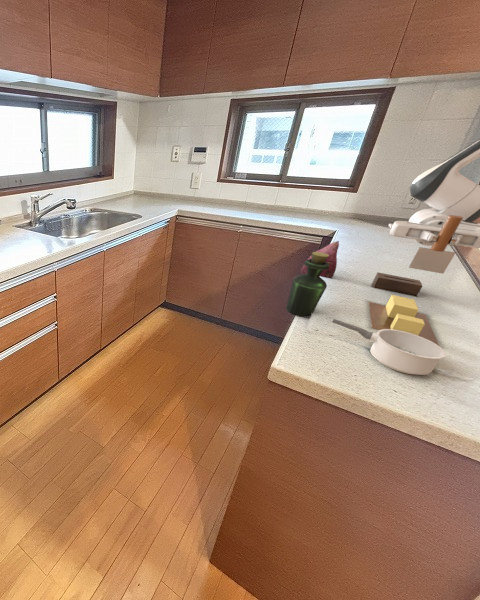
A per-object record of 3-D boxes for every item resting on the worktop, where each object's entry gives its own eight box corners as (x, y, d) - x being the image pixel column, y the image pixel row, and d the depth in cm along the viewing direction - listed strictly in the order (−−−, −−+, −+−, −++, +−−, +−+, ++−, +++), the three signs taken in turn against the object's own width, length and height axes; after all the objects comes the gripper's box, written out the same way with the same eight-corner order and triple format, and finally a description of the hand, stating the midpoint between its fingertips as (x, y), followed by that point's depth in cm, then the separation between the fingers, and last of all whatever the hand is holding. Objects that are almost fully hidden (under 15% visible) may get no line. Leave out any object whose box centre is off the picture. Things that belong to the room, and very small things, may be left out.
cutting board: (423, 319, 94) (425, 314, 93) (436, 351, 79) (439, 346, 79) (366, 305, 101) (368, 301, 100) (369, 332, 86) (371, 328, 86)
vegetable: (324, 280, 127) (349, 244, 121) (331, 286, 118) (359, 248, 112) (297, 268, 130) (320, 233, 123) (301, 274, 121) (326, 236, 114)
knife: (442, 271, 89) (474, 217, 81) (444, 275, 87) (477, 219, 79) (408, 266, 92) (436, 213, 85) (409, 268, 90) (438, 215, 83)
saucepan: (328, 329, 87) (336, 311, 85) (431, 362, 75) (444, 342, 73) (320, 347, 80) (328, 327, 77) (432, 386, 68) (447, 365, 65)
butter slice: (415, 332, 84) (422, 319, 82) (416, 337, 82) (424, 324, 80) (390, 326, 87) (397, 313, 85) (391, 330, 84) (398, 317, 83)
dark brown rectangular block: (412, 293, 110) (419, 280, 107) (414, 300, 105) (422, 286, 103) (371, 285, 115) (377, 272, 113) (371, 290, 111) (378, 277, 109)
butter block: (407, 311, 94) (414, 299, 93) (411, 322, 89) (418, 309, 87) (385, 306, 97) (391, 294, 95) (387, 316, 91) (394, 304, 90)
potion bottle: (315, 321, 91) (341, 261, 83) (282, 314, 94) (303, 255, 86) (313, 310, 97) (336, 252, 89) (282, 303, 101) (302, 247, 92)
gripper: (392, 213, 98) (397, 221, 88) (490, 224, 88) (509, 235, 78) (383, 234, 101) (387, 243, 91) (477, 247, 91) (493, 260, 81)
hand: (444, 240), depth 84 cm, fingers closed on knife, 2 cm apart
